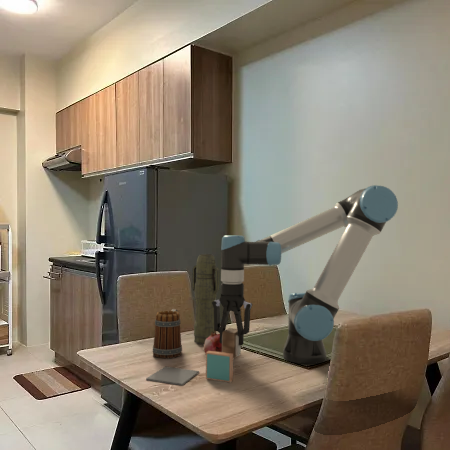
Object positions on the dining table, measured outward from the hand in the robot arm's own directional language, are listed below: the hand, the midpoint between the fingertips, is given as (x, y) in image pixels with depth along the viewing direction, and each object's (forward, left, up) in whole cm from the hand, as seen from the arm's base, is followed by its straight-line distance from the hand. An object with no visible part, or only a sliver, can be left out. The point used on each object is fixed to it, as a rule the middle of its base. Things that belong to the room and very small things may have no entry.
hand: (231, 353), depth 142 cm
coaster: (+14, +14, -5) cm, 20 cm away
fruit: (+9, -9, -5) cm, 14 cm away
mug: (+27, -8, -5) cm, 28 cm away
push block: (0, 0, 0) cm, 0 cm away
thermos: (+21, -27, -5) cm, 35 cm away
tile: (0, +11, -5) cm, 12 cm away
